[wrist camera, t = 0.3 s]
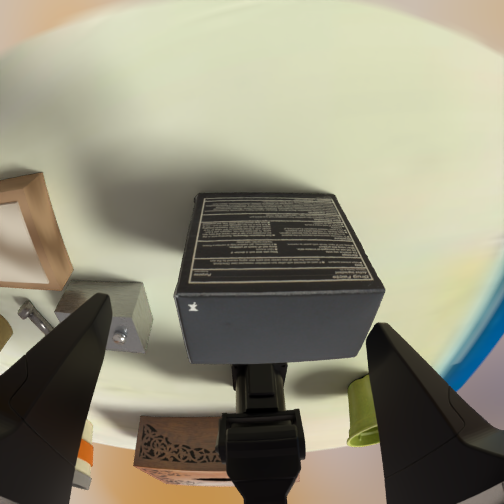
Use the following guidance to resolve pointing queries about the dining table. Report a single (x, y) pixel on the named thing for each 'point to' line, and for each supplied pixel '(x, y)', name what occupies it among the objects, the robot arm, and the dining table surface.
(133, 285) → the housing
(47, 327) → the loose bolt
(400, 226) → the dining table surface
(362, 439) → the plant pot
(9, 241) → the picture frame
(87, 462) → the reusable coffee cup
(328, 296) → the small box
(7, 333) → the cork
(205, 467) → the tissue box cover
